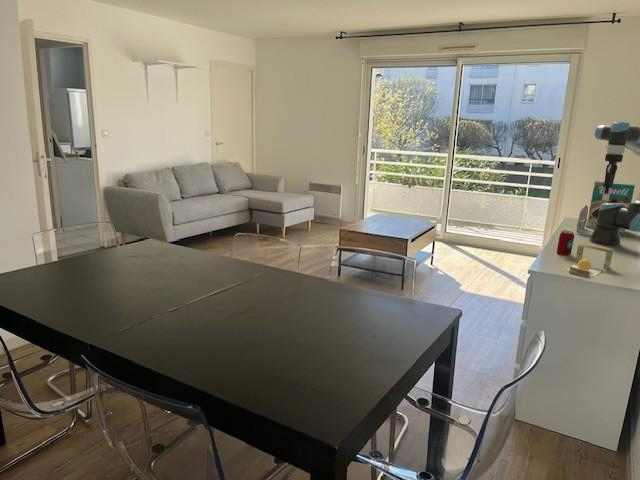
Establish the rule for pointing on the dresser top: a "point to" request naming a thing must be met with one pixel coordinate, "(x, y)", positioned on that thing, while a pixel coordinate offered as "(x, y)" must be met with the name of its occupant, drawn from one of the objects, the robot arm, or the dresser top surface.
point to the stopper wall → (579, 271)
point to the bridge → (608, 250)
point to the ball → (584, 264)
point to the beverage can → (565, 243)
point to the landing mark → (592, 271)
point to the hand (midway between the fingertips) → (605, 199)
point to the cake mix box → (617, 195)
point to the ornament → (583, 223)
